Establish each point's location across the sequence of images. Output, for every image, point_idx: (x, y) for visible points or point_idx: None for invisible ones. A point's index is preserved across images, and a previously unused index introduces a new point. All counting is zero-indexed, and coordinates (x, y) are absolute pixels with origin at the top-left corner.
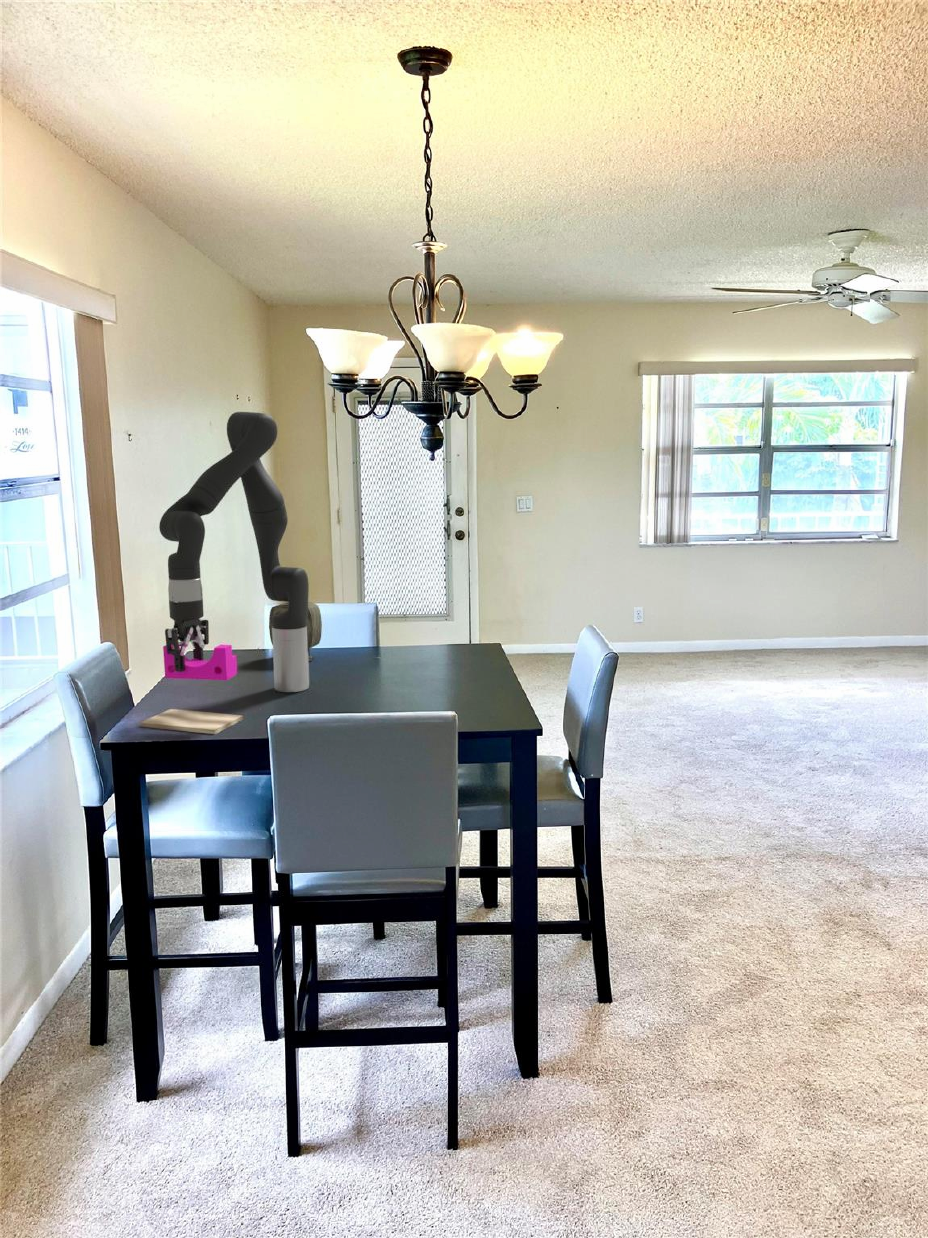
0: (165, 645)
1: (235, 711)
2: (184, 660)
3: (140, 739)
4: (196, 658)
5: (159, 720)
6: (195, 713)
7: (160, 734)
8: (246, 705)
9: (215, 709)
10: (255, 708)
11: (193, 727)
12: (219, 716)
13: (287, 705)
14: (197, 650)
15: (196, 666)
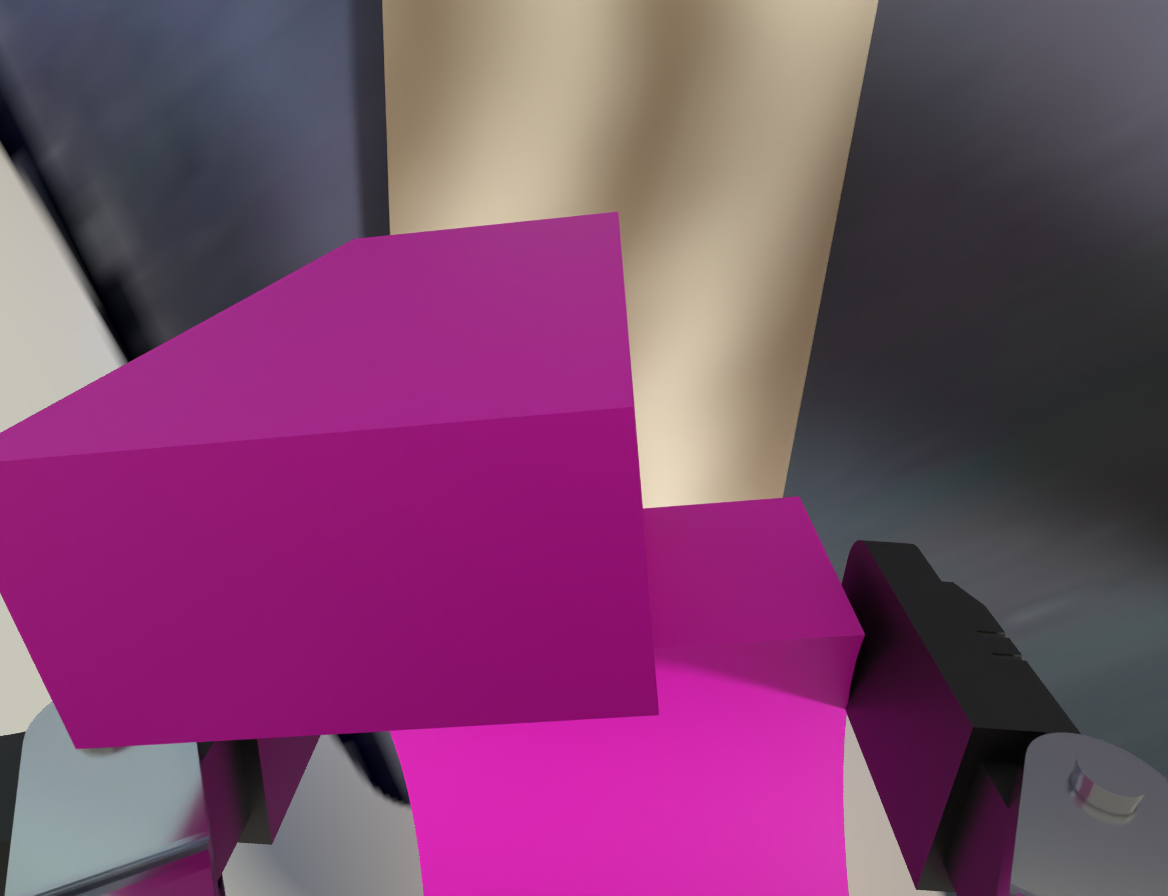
0: (143, 454)
1: (960, 481)
2: (299, 761)
3: (103, 151)
4: (877, 643)
5: (487, 67)
6: (759, 275)
7: (271, 236)
8: (1137, 486)
9: (1014, 305)
10: (1047, 577)
11: None
12: (708, 497)
13: (1125, 730)
14: (927, 800)
15: (435, 800)
